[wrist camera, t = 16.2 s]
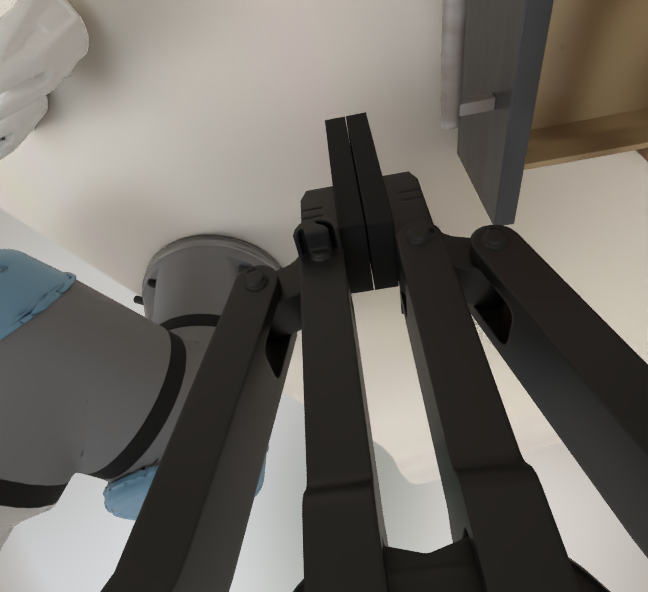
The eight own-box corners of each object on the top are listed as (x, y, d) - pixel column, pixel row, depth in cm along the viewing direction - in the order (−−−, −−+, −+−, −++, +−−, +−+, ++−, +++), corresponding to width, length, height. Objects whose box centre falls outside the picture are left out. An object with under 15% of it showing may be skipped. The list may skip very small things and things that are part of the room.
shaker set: (49, -43, 27) (-42, 12, 20) (113, 15, 30) (54, 82, 22) (-25, 93, 33) (-118, 176, 25) (34, 133, 35) (-35, 219, 28)
